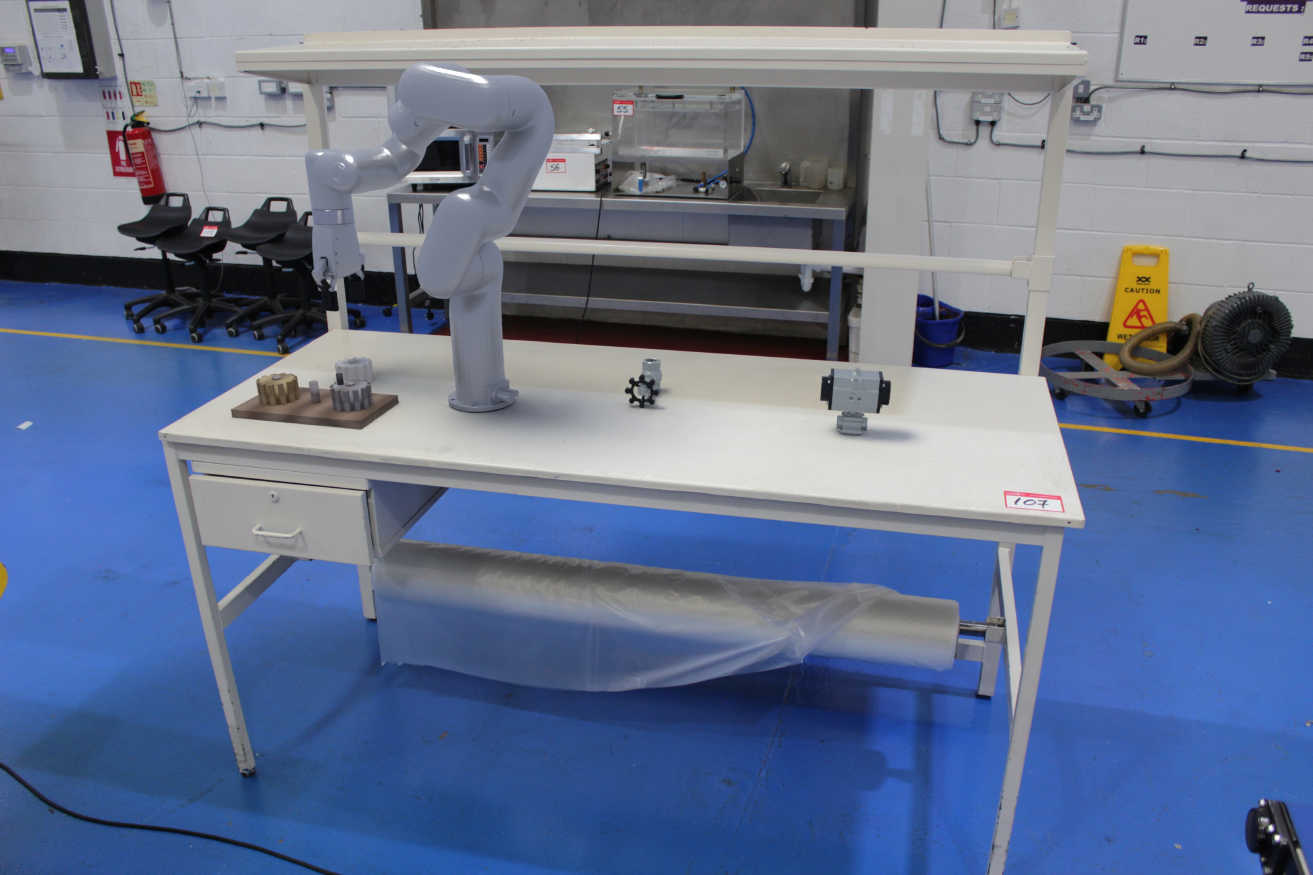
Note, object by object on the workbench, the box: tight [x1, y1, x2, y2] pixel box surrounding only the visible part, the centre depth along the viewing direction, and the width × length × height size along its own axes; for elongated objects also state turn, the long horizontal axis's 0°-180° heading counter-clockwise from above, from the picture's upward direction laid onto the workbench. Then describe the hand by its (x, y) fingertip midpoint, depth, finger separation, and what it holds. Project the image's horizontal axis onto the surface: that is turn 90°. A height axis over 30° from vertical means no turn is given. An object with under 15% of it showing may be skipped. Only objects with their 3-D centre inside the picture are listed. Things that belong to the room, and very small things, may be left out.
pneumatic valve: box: [819, 366, 892, 436], centre depth 153 cm, size 6×12×12 cm, turn 79°
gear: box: [334, 356, 375, 384], centre depth 180 cm, size 7×7×4 cm
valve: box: [624, 357, 663, 409], centre depth 171 cm, size 7×7×12 cm
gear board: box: [230, 372, 400, 430], centre depth 163 cm, size 26×14×8 cm, turn 78°
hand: (344, 304), depth 174 cm, fingers open, 9 cm apart
